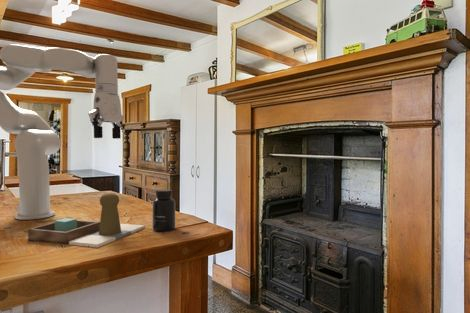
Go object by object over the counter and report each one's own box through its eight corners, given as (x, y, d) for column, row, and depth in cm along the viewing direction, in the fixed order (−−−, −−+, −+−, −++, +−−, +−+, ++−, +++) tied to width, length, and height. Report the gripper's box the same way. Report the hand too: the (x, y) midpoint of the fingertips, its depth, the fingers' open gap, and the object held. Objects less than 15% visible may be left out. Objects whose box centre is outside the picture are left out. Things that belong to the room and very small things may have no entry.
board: (69, 244, 89) (68, 241, 89) (120, 226, 109) (120, 223, 108) (97, 247, 86) (97, 244, 86) (144, 228, 106) (144, 225, 106)
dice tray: (28, 240, 93) (28, 229, 93) (65, 228, 105) (65, 219, 105) (65, 244, 89) (65, 232, 89) (100, 231, 101) (100, 221, 101)
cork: (113, 235, 94) (113, 196, 93) (94, 234, 95) (93, 195, 95) (125, 230, 100) (124, 192, 99) (106, 229, 101) (105, 192, 100)
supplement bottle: (155, 233, 99) (155, 192, 99) (150, 228, 106) (149, 189, 105) (178, 230, 103) (178, 190, 102) (171, 225, 109) (171, 188, 108)
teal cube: (55, 234, 96) (54, 220, 96) (66, 231, 100) (66, 218, 100) (65, 236, 95) (65, 221, 95) (77, 232, 99) (76, 219, 98)
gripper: (98, 85, 113) (99, 137, 113) (130, 93, 129) (131, 138, 130) (80, 87, 115) (81, 138, 116) (113, 94, 132) (114, 138, 132)
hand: (107, 138), depth 123 cm, fingers open, 9 cm apart
